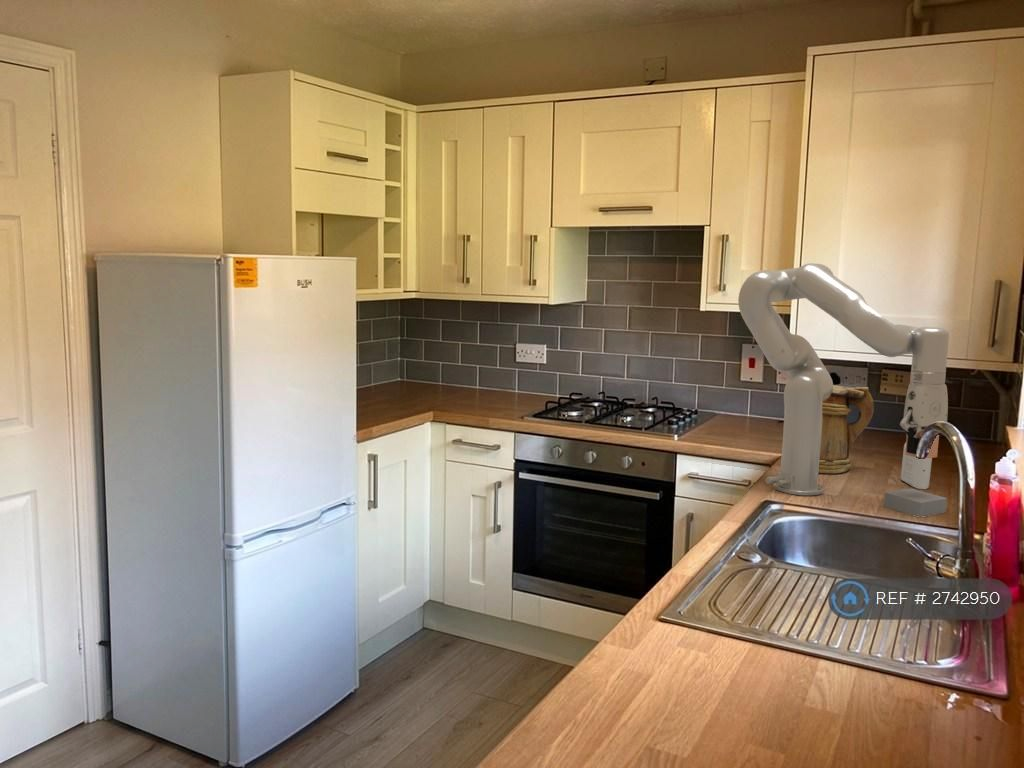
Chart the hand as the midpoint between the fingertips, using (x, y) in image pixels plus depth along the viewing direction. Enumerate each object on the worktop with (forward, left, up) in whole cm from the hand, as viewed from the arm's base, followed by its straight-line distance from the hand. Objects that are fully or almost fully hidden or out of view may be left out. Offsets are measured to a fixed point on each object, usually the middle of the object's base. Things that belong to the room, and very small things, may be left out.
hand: (921, 451), depth 206 cm
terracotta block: (0, 0, -1) cm, 1 cm away
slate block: (0, 0, -15) cm, 15 cm away
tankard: (+11, +41, -15) cm, 45 cm away
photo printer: (+21, +18, -15) cm, 31 cm away
